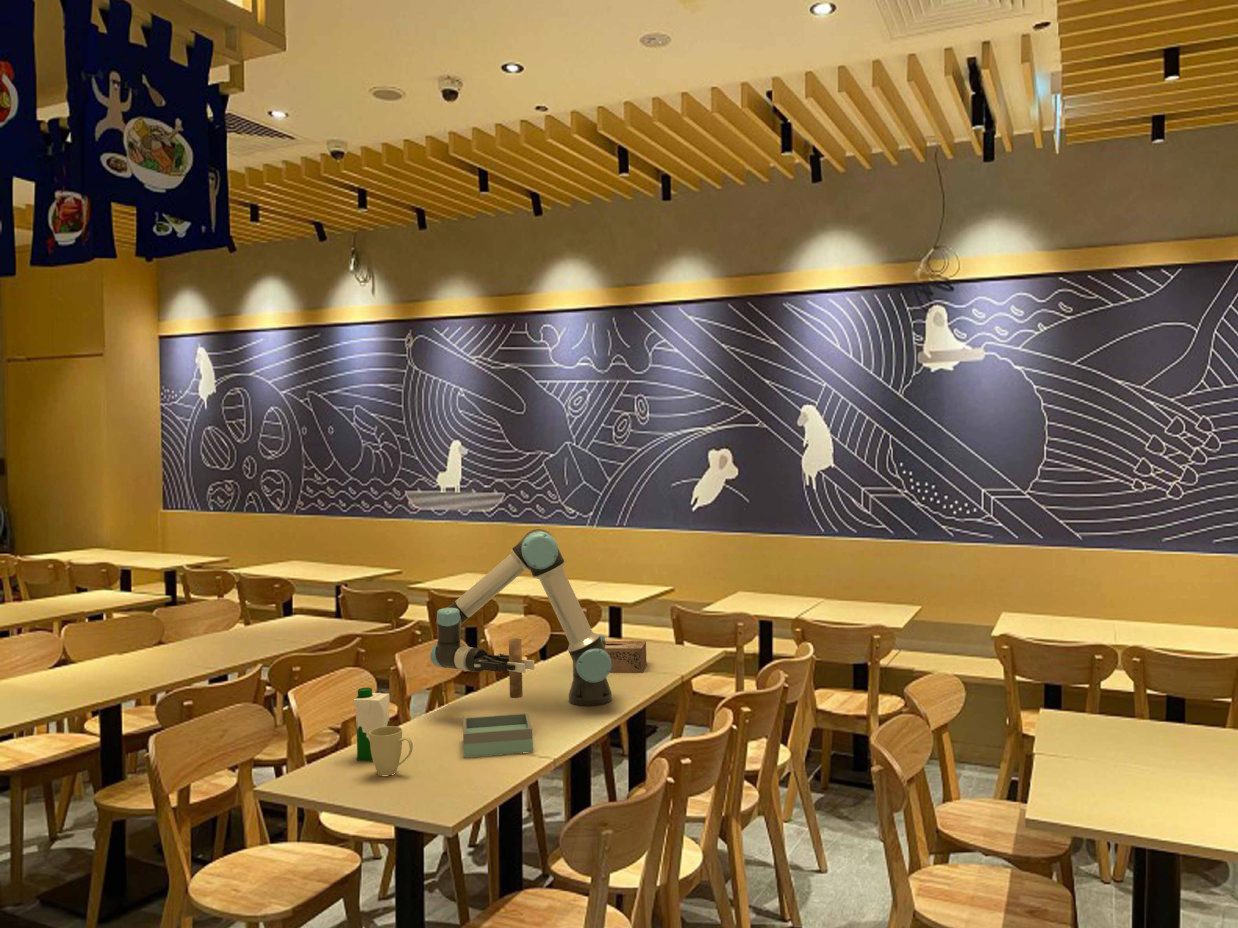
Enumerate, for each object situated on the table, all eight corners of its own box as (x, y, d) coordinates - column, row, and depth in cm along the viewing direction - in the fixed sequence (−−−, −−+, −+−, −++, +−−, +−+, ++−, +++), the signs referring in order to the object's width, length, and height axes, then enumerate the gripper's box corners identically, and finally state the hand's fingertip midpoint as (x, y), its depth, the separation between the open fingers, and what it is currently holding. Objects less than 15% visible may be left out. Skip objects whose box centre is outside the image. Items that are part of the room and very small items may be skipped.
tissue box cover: (577, 673, 378) (577, 648, 378) (583, 664, 393) (583, 640, 392) (642, 673, 375) (642, 648, 375) (646, 665, 389) (645, 640, 389)
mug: (373, 782, 260) (372, 738, 259) (368, 771, 269) (366, 728, 268) (414, 775, 264) (413, 732, 264) (407, 765, 273) (405, 723, 273)
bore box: (528, 735, 298) (528, 712, 298) (532, 752, 281) (532, 728, 281) (463, 740, 295) (463, 717, 295) (463, 757, 278) (463, 733, 278)
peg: (522, 694, 305) (521, 638, 305) (522, 697, 301) (521, 640, 301) (509, 695, 305) (508, 638, 304) (510, 698, 301) (508, 641, 300)
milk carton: (366, 751, 286) (364, 685, 286) (394, 752, 285) (392, 685, 284) (352, 761, 278) (350, 692, 277) (381, 762, 276) (379, 693, 276)
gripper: (488, 665, 319) (545, 672, 307) (454, 676, 305) (512, 684, 293) (488, 642, 319) (545, 649, 307) (453, 652, 305) (511, 660, 292)
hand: (529, 666), depth 300 cm, fingers closed on peg, 4 cm apart
